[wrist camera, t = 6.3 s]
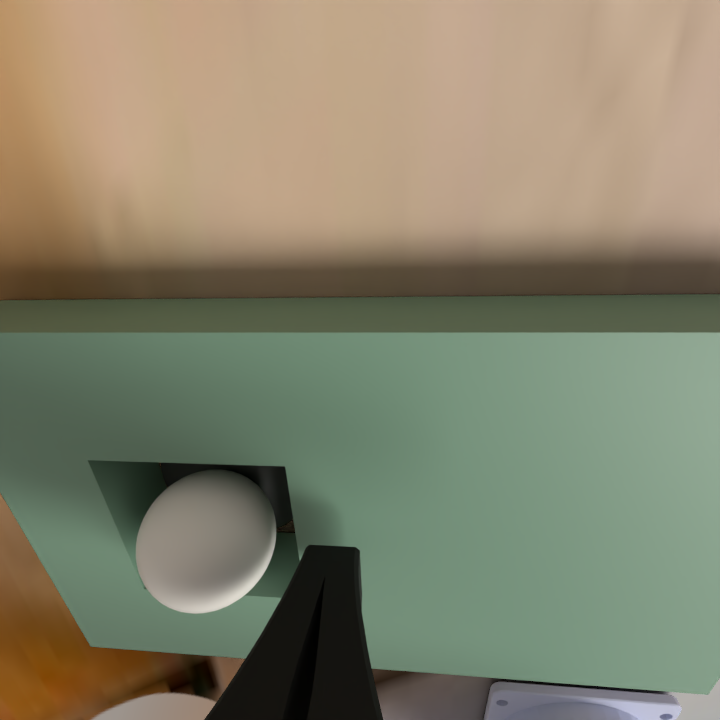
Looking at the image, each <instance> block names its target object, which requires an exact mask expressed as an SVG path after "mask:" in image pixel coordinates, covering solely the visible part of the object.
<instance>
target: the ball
mask: <svg viewBox="0 0 720 720" xmlns="http://www.w3.org/2000/svg"><path fill="white" fill-rule="evenodd" d="M275 542H276V520H275V515H274V511H273V508H272V506H271V503H270V501H269V499H268V498H267V496H266V495H265V493H264V492H263V491H262V489H261V488H260V487H259V486H258V485H257V484H256V483H254V482H253V481H252V480H250V479H249V478H247V477H245V476H243V475H241V474H239V473H236V472H233V471H227V470H205V471H200V472H196V473H193V474H190V475H188V476H185V477H183V478H182V479H180V480H178V481H176V482H175V483H173V484H172V485H170V486H169V487H168V488H167V489H165V490H164V491H163V492H162V493H161V494H160V495H159V496H158V497H157V498H156V500H155V501H154V502H153V503H152V505H151V506H150V508H149V509H148V511H147V513H146V515H145V516H144V518H143V521H142V523H141V526H140V529H139V532H138V536H137V541H136V563H137V568H138V572H139V575H140V577H141V579H142V581H143V584H144V586H145V587H146V588H147V590H148V591H149V592H150V594H151V595H152V596H153V597H154V598H155V599H157V600H158V601H159V602H160V603H162V604H163V605H165V606H167V607H168V608H171V609H173V610H176V611H179V612H184V613H193V614H198V613H208V612H212V611H217V610H219V609H222V608H224V607H227V606H229V605H231V604H232V603H234V602H236V601H237V600H239V599H240V598H242V597H243V596H244V595H245V594H247V593H248V592H249V591H250V590H251V589H252V588H253V587H254V586H255V585H256V583H257V582H258V581H259V580H260V578H261V577H262V576H263V574H264V572H265V571H266V569H267V567H268V565H269V562H270V560H271V557H272V554H273V551H274V547H275Z"/></svg>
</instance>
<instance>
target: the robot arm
mask: <svg viewBox="0 0 720 720" xmlns="http://www.w3.org/2000/svg"><path fill="white" fill-rule="evenodd" d="M681 709H682V708H681V706H680V704H679V702H678V700H677V699H676V698H675V697H674V696H672V695H667V694H654V693H641V692H628V691H616V690H603V689H590V688H578V687H565V686H552V685H539V684H527V683H514V682H495V683H494V684H492V686H491V687H490V692H489V697H488V701H487V706H486V711H485V716H484V720H676V718H677V717H678V715H679V714H680V712H681ZM205 720H383V717H382V713H381V709H380V704H379V700H378V696H377V691H376V687H375V682H374V677H373V673H372V668H371V663H370V658H369V653H368V648H367V642H366V635H365V629H364V623H363V617H362V582H361V563H360V550H359V549H357V548H356V547H346V546H326V545H309V546H307V547H306V548H305V551H304V553H303V555H302V558H301V560H300V562H299V564H298V566H297V569H296V571H295V573H294V575H293V577H292V579H291V581H290V583H289V585H288V587H287V589H286V590H285V592H284V594H283V596H282V598H281V600H280V602H279V603H278V605H277V607H276V609H275V611H274V612H273V614H272V616H271V618H270V619H269V621H268V623H267V625H266V626H265V628H264V630H263V632H262V633H261V635H260V637H259V638H258V640H257V641H256V643H255V645H254V646H253V648H252V649H251V651H250V653H249V654H248V656H247V657H246V659H245V661H244V662H243V664H242V665H241V667H240V668H239V670H238V672H237V673H236V675H235V676H234V678H233V679H232V681H231V682H230V684H229V685H228V687H227V688H226V690H225V691H224V693H223V694H222V695H221V697H220V698H219V700H218V701H217V703H216V704H215V706H214V707H213V708H212V710H211V711H210V713H209V714H208V715H207V717H206V718H205Z"/></svg>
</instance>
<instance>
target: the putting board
mask: <svg viewBox="0 0 720 720" xmlns="http://www.w3.org/2000/svg"><path fill="white" fill-rule="evenodd" d="M159 462H160V463H161V468H160V465H159ZM161 470H162V471H161ZM205 470H227V471H233V472H236V473H239V474H241V475H243V476H245V477H247V478H249V479H250V480H252V481H253V482H254V483H256V484H257V485H258V486H259V487H260V488H261V489H262V491H263V492H264V493H265V495H266V496H267V498H268V499H269V501H270V503H271V506H272V508H273V511H274V515H275V520H276V528H279V527H281V526H283V525H285V524H287V523H288V522H290V521H291V520H292V519H293V521H294V527H295V533H284V532H276V542H275V547H274V551H273V554H272V557H271V560H270V562H269V565H268V567H267V569H266V571H265V572H264V574H263V576H262V577H261V578H260V580H259V581H258V582H257V583H256V585H255V586H254V587H253V588H252V589H251V590H250V591H249V592H248V593H247V594H245V595H244V596H243V597H242V598H240V599H239V600H237V601H236V602H234V603H232V604H231V605H229V606H227V607H224V608H222V609H219V610H217V611H212V612H208V613H198V614H193V613H184V612H179V611H176V610H173V609H171V608H168V607H167V606H165V605H163V604H162V603H160V602H159V601H158V600H157V599H155V598H154V597H153V596H152V595H151V594H150V592H149V591H148V590H147V588H146V587H145V586H144V584H143V581H142V579H141V577H140V575H139V572H138V568H137V563H136V541H137V536H138V532H139V529H140V526H141V523H142V521H143V518H144V516H145V515H146V513H147V511H148V509H149V508H150V506H151V505H152V503H153V502H154V501H155V500H156V498H157V497H158V496H159V495H160V494H161V493H162V492H163V491H164V490H165V489H167V487H169V486H170V485H172V484H173V483H175V482H176V481H178V480H180V479H182V478H183V477H185V476H188V475H190V474H193V473H196V472H200V471H205ZM166 485H167V486H166ZM0 493H1V495H2V496H3V498H4V500H5V501H6V503H7V505H8V507H9V508H10V510H11V512H12V513H13V515H14V517H15V518H16V520H17V522H18V524H19V525H20V527H21V529H22V530H23V532H24V534H25V535H26V537H27V539H28V541H29V542H30V544H31V546H32V547H33V549H34V551H35V552H36V554H37V556H38V558H39V559H40V561H41V563H42V564H43V566H44V568H45V569H46V571H47V573H48V575H49V576H50V578H51V580H52V581H53V583H54V585H55V587H56V588H57V590H58V592H59V593H60V595H61V597H62V598H63V600H64V602H65V604H66V605H67V607H68V609H69V610H70V612H71V614H72V615H73V617H74V619H75V621H76V622H77V624H78V626H79V627H80V629H81V631H82V632H83V634H84V636H85V638H86V639H87V641H88V643H89V644H90V646H91V647H103V648H115V649H128V650H141V651H154V652H167V653H180V654H192V655H205V656H218V657H231V658H244V659H246V657H247V656H248V654H249V653H250V651H251V649H252V648H253V646H254V645H255V643H256V641H257V640H258V638H259V637H260V635H261V633H262V632H263V630H264V628H265V626H266V625H267V623H268V621H269V619H270V618H271V616H272V614H273V612H274V611H275V609H276V607H277V605H278V603H279V602H280V600H281V598H282V596H283V594H284V592H285V590H286V589H287V587H288V585H289V583H290V581H291V579H292V577H293V575H294V573H295V571H296V569H297V566H298V564H299V562H300V560H301V558H302V555H303V553H304V551H305V548H306V547H307V546H309V545H326V546H346V547H356V548H357V549H359V550H360V563H361V582H362V617H363V623H364V629H365V635H366V642H367V648H368V653H369V658H370V663H371V668H372V669H385V670H398V671H410V672H423V673H436V674H449V675H462V676H475V677H487V678H500V679H513V680H526V681H539V682H551V683H564V684H577V685H590V686H603V687H616V688H628V689H641V690H654V691H667V692H680V693H693V694H705V695H708V694H709V693H710V691H711V690H712V688H713V687H714V685H715V684H716V682H717V681H718V680H719V678H720V294H667V295H550V296H432V297H315V298H198V299H80V300H0Z"/></svg>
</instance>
